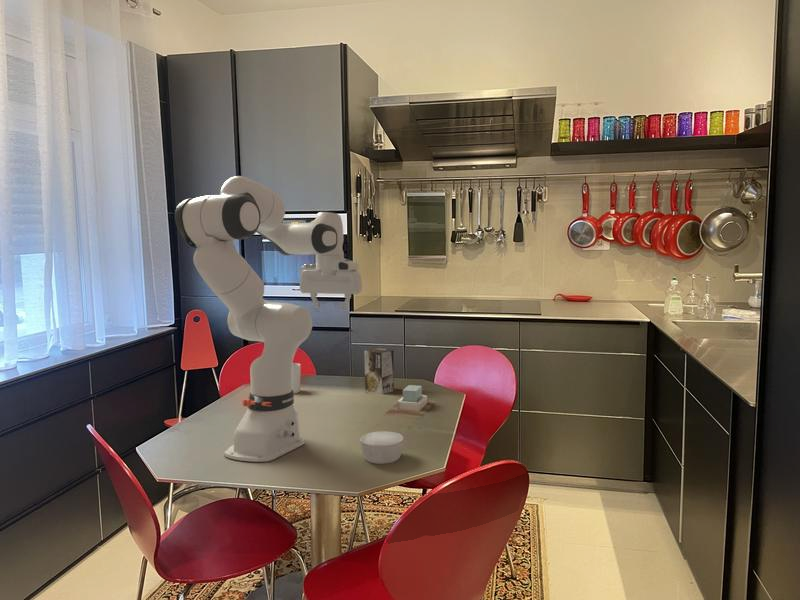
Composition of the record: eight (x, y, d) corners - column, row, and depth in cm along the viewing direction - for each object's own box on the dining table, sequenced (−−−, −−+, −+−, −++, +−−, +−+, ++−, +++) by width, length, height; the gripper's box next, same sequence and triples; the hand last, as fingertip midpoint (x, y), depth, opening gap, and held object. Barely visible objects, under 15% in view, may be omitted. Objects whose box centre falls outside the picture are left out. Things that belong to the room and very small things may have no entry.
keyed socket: (419, 411, 189) (419, 403, 189) (397, 409, 191) (397, 401, 191) (427, 402, 198) (427, 395, 198) (405, 401, 201) (405, 393, 200)
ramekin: (351, 456, 154) (351, 436, 153) (386, 447, 161) (386, 428, 160) (376, 469, 145) (376, 448, 144) (412, 459, 152) (412, 438, 151)
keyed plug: (421, 403, 197) (421, 385, 197) (416, 409, 191) (416, 391, 190) (408, 402, 199) (408, 384, 198) (402, 408, 192) (402, 390, 191)
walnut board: (420, 421, 182) (420, 418, 182) (383, 418, 185) (383, 414, 185) (436, 404, 201) (436, 400, 201) (402, 401, 204) (402, 398, 204)
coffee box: (394, 394, 214) (394, 349, 213) (382, 397, 210) (381, 352, 208) (376, 389, 220) (376, 346, 219) (364, 393, 216) (363, 349, 214)
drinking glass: (303, 389, 222) (302, 363, 221) (298, 394, 215) (297, 367, 214) (285, 389, 222) (285, 362, 221) (280, 393, 216) (279, 366, 215)
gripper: (295, 264, 187) (296, 308, 189) (356, 264, 181) (356, 309, 183) (304, 263, 193) (305, 305, 195) (363, 263, 187) (364, 307, 189)
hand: (330, 307), depth 189 cm, fingers open, 8 cm apart
